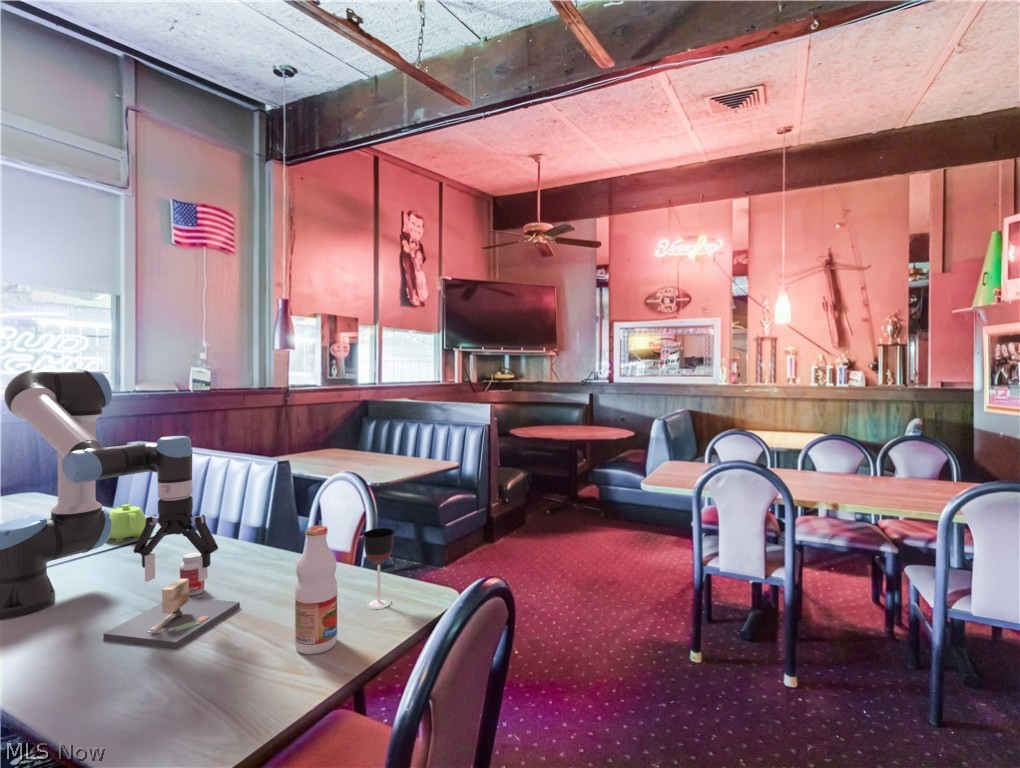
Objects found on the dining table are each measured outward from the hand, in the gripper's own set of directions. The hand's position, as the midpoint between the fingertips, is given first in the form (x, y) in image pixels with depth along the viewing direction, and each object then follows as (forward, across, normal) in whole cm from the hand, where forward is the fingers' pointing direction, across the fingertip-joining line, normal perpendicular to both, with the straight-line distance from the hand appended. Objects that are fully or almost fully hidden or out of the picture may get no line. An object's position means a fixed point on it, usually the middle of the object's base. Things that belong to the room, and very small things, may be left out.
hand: (176, 579), depth 137 cm
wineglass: (+12, +48, +13) cm, 52 cm away
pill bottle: (+11, -7, +19) cm, 23 cm away
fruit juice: (+12, +39, -10) cm, 42 cm away
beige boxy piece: (+9, 0, -3) cm, 10 cm away
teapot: (+10, -63, +68) cm, 93 cm away
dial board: (+11, 0, 0) cm, 11 cm away
